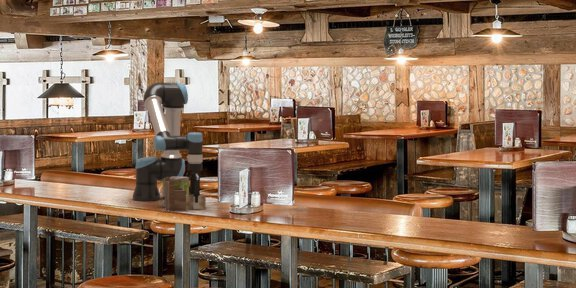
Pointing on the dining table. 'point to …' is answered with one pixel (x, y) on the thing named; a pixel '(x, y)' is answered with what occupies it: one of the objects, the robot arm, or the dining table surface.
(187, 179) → the tea box
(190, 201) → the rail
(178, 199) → the brown box
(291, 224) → the dining table surface
